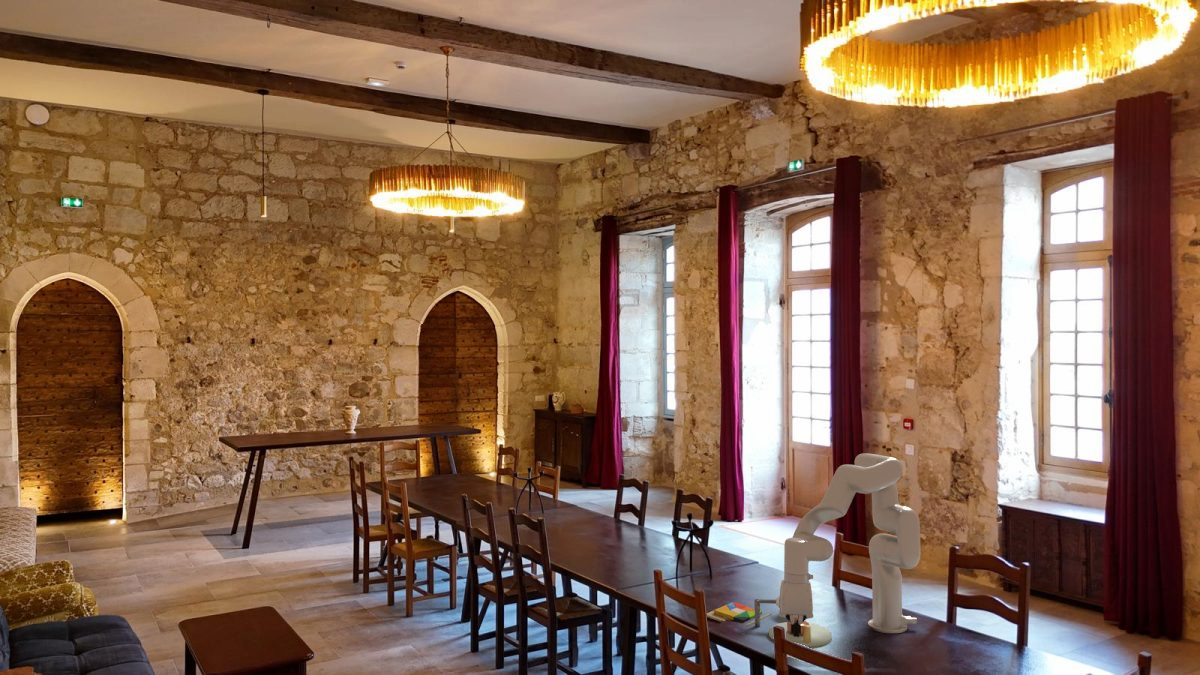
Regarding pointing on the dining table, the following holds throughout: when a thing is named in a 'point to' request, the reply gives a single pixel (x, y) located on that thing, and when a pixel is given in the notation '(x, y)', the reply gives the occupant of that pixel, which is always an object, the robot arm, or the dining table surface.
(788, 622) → the cover
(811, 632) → the turntable
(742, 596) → the dining table surface
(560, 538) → the dining table surface
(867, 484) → the robot arm
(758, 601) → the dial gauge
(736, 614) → the wooden puzzle
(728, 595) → the dining table surface
